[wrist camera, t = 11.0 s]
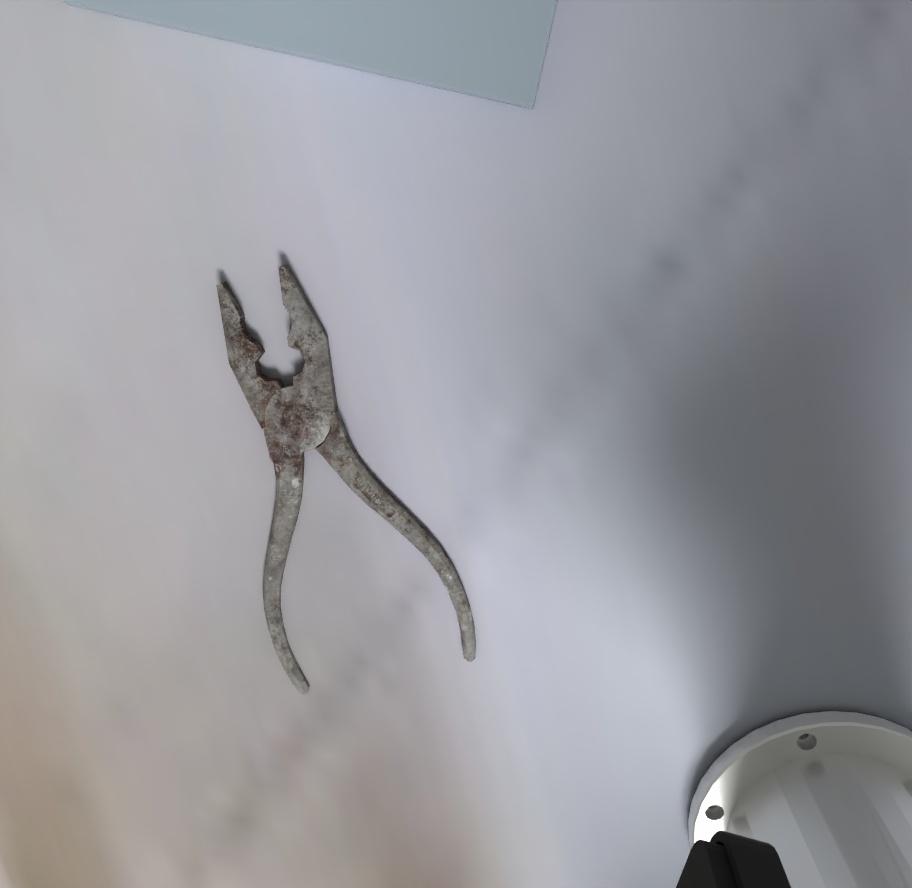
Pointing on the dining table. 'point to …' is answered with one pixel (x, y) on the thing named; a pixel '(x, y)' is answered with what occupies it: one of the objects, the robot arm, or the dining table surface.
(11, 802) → the dining table surface
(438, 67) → the piston block
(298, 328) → the pliers
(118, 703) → the dining table surface
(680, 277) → the dining table surface
